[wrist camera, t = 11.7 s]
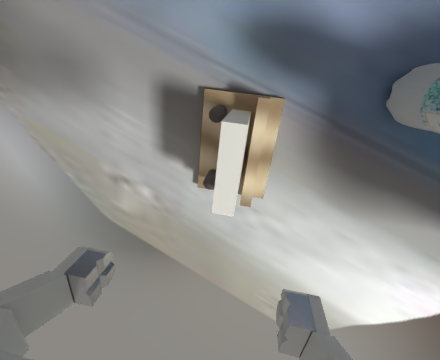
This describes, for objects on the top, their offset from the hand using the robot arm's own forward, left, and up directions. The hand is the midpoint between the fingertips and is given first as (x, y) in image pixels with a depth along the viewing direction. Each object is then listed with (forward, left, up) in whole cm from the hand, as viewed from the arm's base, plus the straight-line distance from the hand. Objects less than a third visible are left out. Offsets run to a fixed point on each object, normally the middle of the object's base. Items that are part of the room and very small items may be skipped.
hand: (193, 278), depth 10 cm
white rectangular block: (0, 0, -22) cm, 22 cm away
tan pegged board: (0, 0, -23) cm, 23 cm away
